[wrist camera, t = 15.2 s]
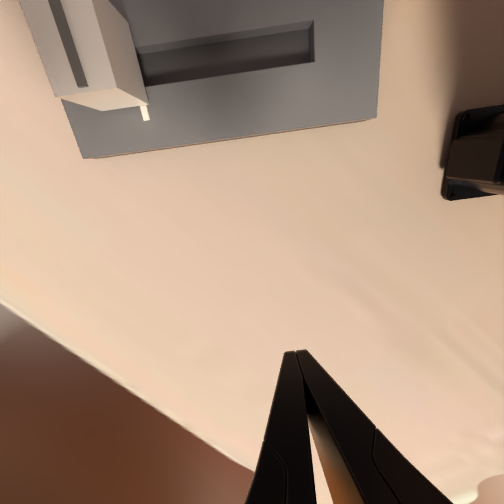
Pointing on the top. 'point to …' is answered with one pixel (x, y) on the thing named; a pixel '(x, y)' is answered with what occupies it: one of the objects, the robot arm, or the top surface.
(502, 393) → the top surface
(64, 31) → the fader
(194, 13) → the console
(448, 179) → the robot arm
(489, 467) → the top surface
